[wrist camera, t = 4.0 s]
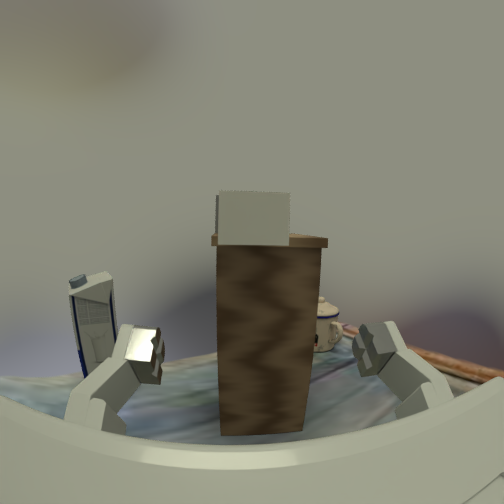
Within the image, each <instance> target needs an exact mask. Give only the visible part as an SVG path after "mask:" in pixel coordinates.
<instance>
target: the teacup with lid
mask: <svg viewBox="0 0 504 504" xmlns="http://www.w3.org/2000/svg"><path fill="white" fill-rule="evenodd" d="M338 315H339V310H338V308H337V307H335V306H333V305H330V304H329V303H328V302H325V298H324V297H319V300H318V312H317V323H316V334H315V343H314V352H325V351H328V350H331V349H332V348H333V347H334V344H335V343H337V342H339V341H340V340H341V338H342V336H343V328H342V326H341V325H340V324H339V323H338V322H337V319H338ZM336 329H337V330H338V336H337V338H336V340H335V337H336Z"/></svg>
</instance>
